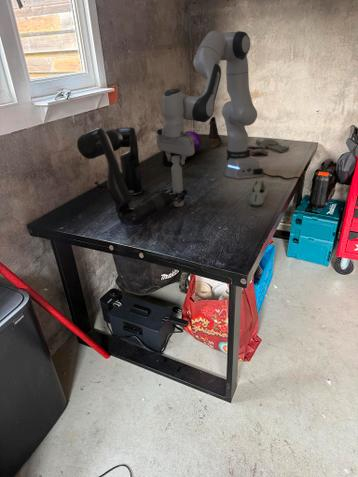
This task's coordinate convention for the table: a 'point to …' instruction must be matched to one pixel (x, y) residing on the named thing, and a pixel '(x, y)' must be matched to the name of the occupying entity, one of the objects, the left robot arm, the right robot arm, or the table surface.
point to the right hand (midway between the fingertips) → (176, 162)
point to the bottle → (177, 181)
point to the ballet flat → (258, 193)
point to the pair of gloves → (267, 144)
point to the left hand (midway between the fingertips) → (181, 190)
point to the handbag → (165, 158)
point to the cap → (175, 159)
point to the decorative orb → (195, 140)
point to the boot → (214, 134)
